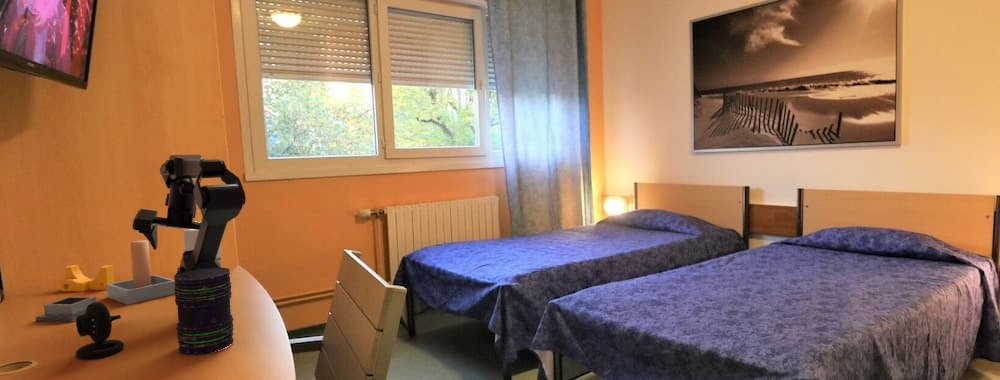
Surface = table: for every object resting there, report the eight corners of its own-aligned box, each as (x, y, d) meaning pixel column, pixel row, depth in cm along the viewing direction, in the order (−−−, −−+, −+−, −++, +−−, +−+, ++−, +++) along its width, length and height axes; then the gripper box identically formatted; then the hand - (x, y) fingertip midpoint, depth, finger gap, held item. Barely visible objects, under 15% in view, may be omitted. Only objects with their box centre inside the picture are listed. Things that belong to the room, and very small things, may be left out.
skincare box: (201, 280, 158) (198, 230, 157) (185, 278, 160) (182, 229, 158) (223, 273, 166) (220, 226, 165) (207, 272, 168) (204, 225, 166)
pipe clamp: (61, 291, 147) (59, 268, 146) (74, 287, 151) (72, 265, 151) (102, 291, 146) (101, 268, 146) (114, 287, 151) (113, 265, 150)
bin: (177, 293, 144) (176, 280, 144) (127, 304, 134) (126, 291, 134) (156, 286, 151) (155, 274, 150) (107, 297, 141) (106, 284, 140)
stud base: (104, 309, 130) (103, 295, 130) (72, 321, 121) (71, 307, 121) (70, 308, 131) (69, 295, 130) (36, 321, 122) (34, 306, 121)
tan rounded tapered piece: (155, 292, 143) (152, 241, 141) (137, 296, 139) (133, 243, 138) (148, 289, 145) (145, 239, 144) (130, 293, 142) (126, 242, 140)
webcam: (69, 354, 102) (65, 304, 102) (114, 342, 109) (111, 294, 108) (84, 363, 98) (80, 311, 97) (130, 350, 104) (127, 300, 103)
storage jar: (227, 333, 113) (223, 264, 112) (240, 346, 106) (236, 273, 104) (173, 345, 107) (168, 272, 105) (183, 360, 99) (178, 282, 98)
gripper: (229, 190, 140) (221, 237, 147) (146, 177, 133) (142, 228, 139) (222, 213, 131) (214, 262, 138) (133, 201, 124) (129, 254, 130)
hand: (176, 251), depth 136 cm, fingers open, 9 cm apart
